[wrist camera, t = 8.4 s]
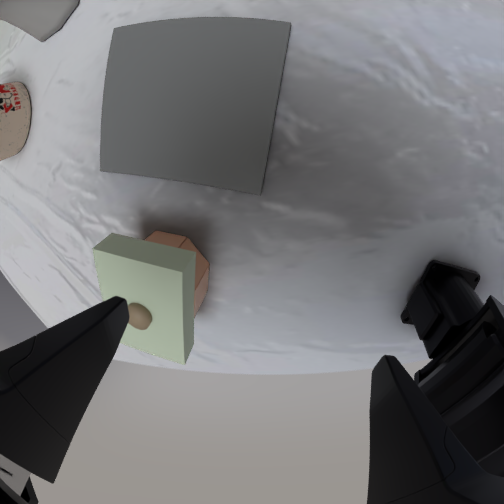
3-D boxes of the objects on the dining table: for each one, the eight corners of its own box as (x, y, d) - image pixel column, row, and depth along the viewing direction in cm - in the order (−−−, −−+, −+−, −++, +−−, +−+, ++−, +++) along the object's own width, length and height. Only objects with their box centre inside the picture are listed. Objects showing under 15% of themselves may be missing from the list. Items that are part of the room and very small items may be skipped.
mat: (291, 25, 12) (290, 22, 12) (261, 192, 18) (260, 195, 18) (118, 29, 13) (114, 28, 13) (104, 169, 19) (100, 171, 19)
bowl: (211, 242, 21) (196, 266, 18) (206, 307, 24) (194, 335, 21) (135, 225, 21) (111, 245, 18) (140, 289, 25) (122, 312, 21)
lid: (196, 252, 17) (178, 278, 15) (193, 343, 22) (182, 370, 19) (111, 232, 18) (87, 252, 15) (126, 322, 22) (110, 345, 19)
